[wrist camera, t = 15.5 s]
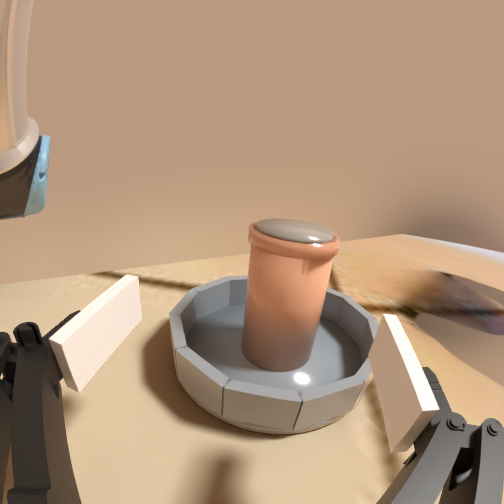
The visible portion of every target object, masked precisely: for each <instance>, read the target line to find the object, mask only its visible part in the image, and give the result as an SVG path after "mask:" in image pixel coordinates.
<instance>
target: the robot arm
mask: <svg viewBox="0 0 504 504" xmlns="http://www.w3.org/2000/svg"><path fill="white" fill-rule="evenodd" d="M33 2H34V0H0V220H2V219H9V218H17V217H25V216H26V215H31V214H36V213H39V212H41V211H42V210H43V208H44V206H45V203H46V193H47V180H48V168H49V157H50V146H51V140H50V137H49V136H44V135H41V136H39V128H38V125H37V123H36V122H35V121H34V120H33V119H32V118H30V117H28V116H27V97H26V96H27V95H26V70H27V49H28V37H29V28H30V20H31V13H32V7H33ZM141 320H142V313H141V303H140V293H139V281H138V277H137V276H132V275H125V276H124V277H123V278H121V279H120V280H119V281H118V282H116V283H115V284H114V285H113V286H111V287H110V288H109V289H108V290H106V291H105V292H104V293H103V294H101V295H100V296H99V297H98V298H96V299H95V300H94V301H93V302H91V303H90V304H89V305H88V306H87V307H85V308H84V309H83V310H82V311H80V310H79V311H76V312H74V313H72V314H70V315H69V316H67V317H66V318H65V319H64V321H61V322H60V323H59V325H57V326H55V327H54V328H53V329H52V330H51V331H49V332H48V333H47V334H46V335H45V336H44V337H42V336H41V333H40V330H39V327H38V325H37V324H36V323H33V322H25V323H22V324H20V325H18V326H17V327H16V328H15V329H14V331H13V333H14V336H15V339H16V341H17V343H14V342H12V341H11V338H10V336H9V334H8V333H6V332H0V376H1V373H2V375H3V379H2V380H1V379H0V504H2V499H3V489H4V481H5V473H6V467H7V461H8V455H9V450H10V445H11V447H12V466H13V477H14V488H13V489H10V490H9V491H8V493H7V500H8V504H82V503H81V500H80V497H79V493H78V489H77V486H76V482H75V478H74V473H73V469H72V464H71V459H70V454H69V449H68V443H67V437H66V430H65V423H64V414H63V405H62V392H61V385H60V383H59V381H60V380H61V379H62V378H64V380H65V383H66V385H67V387H69V388H71V389H73V390H75V391H77V392H80V391H81V390H82V389H83V388H84V386H85V385H86V384H87V383H88V381H89V380H90V379H91V378H92V377H93V375H94V374H95V373H96V372H97V371H98V369H99V368H100V367H101V366H102V365H103V364H104V362H105V361H106V360H107V359H108V358H109V356H110V355H111V354H112V353H113V352H114V351H115V349H116V348H117V347H118V346H119V345H120V344H121V342H122V341H123V340H124V339H125V338H126V337H127V335H128V334H129V333H130V332H131V331H132V330H133V329H134V327H135V326H136V325H137V324H138V323H139V322H140V321H141ZM368 357H369V361H370V365H371V369H372V372H373V376H374V380H375V384H376V388H377V392H378V396H379V400H380V405H381V409H382V413H383V418H384V422H385V427H386V432H387V437H388V442H389V447H390V453H394V452H405V451H407V450H408V449H409V448H410V447H411V445H412V444H414V448H415V451H414V452H413V453H412V454H411V456H410V457H409V458H408V459H407V460H406V461H405V462H404V463H403V464H405V465H404V467H403V468H402V470H401V471H400V473H399V474H398V476H397V477H396V478H395V480H394V481H393V483H392V484H391V485H390V487H389V488H388V489H387V491H386V492H385V493H384V495H383V496H382V497H381V498H380V500H379V501H378V502H377V503H376V504H434V502H435V501H436V499H437V497H438V495H439V493H440V491H441V490H442V488H443V490H442V494H441V498H440V502H439V504H501V502H502V493H503V483H504V428H503V426H502V424H501V423H500V422H499V421H498V420H496V419H493V418H488V419H486V420H485V421H484V422H483V423H482V424H481V426H476V425H469V424H467V422H466V420H465V419H464V418H463V417H462V416H461V415H460V414H457V413H454V412H452V410H451V408H450V406H449V403H448V401H447V399H446V397H445V394H444V392H443V390H442V388H441V386H440V384H439V381H438V379H437V377H436V375H435V374H434V373H433V372H432V371H431V370H430V369H429V368H428V367H421V365H420V363H419V361H418V358H417V356H416V354H415V352H414V350H413V348H412V346H411V344H410V342H409V340H408V338H407V336H406V334H405V332H404V330H403V328H402V326H401V324H400V322H399V320H398V318H397V316H396V315H389V314H383V316H382V319H381V322H380V325H379V327H378V330H377V333H376V336H375V338H374V341H373V344H372V346H371V349H370V351H369V354H368Z"/></svg>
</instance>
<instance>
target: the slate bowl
mask: <svg viewBox="0 0 504 504" xmlns="http://www.w3.org/2000/svg"><path fill="white" fill-rule="evenodd" d="M247 281H248V275H247V276H229V277H224V278H221V279H218V280H215V281H212V282H209V283H207V284H204V285H201V286H198V287H195V288H192V289H190V290H189V292H188V293H187V294H186V295H185V296H184V297H183V298H182V299H181V301H180V302H179V303H178V304H177V305H176V306H175V307H174V308H173V310H172V311H171V312H170V314H169V316H170V331H171V343H172V350H173V356H174V363H175V370H176V373H177V379H178V381H179V382H180V383H181V385H182V387H183V388H184V390H185V391H186V392H187V394H188V395H189V396H190V397H191V398H192V399H193V400H194V401H195V402H196V403H197V404H198V405H199V406H200V407H201V408H203V409H204V410H205V411H207V412H208V413H209V414H211V415H213V416H214V417H216V418H218V419H220V420H222V421H224V422H226V423H229V424H231V425H234V426H236V427H239V428H242V429H246V430H250V431H254V432H261V433H269V434H294V433H302V432H307V431H311V430H315V429H319V428H322V427H324V426H327V425H329V424H331V423H334V422H335V421H337V420H339V419H340V418H342V417H344V416H345V415H346V414H347V413H348V412H350V411H351V410H352V409H353V408H354V407H355V406H356V405H357V403H358V402H359V401H360V399H361V398H362V396H363V394H364V392H365V390H366V389H367V387H368V385H369V384H370V382H371V381H372V379H373V378H374V376H373V372H372V369H371V365H370V361H369V357H368V354H369V351H370V349H371V346H372V344H373V341H374V338H375V336H376V333H377V330H378V327H379V326H378V323H377V320H376V318H375V317H373V316H372V315H371V314H370V313H369V312H367V311H366V310H365V309H364V308H362V307H361V306H360V305H359V304H358V303H356V302H355V301H354V300H353V299H351V298H350V297H349V296H347V295H345V294H342V293H340V292H337V291H335V290H332V289H330V288H327V291H326V295H325V300H324V304H323V308H322V312H321V317H320V321H319V325H318V329H317V333H316V337H315V341H314V344H313V348H312V352H311V356H310V359H309V360H308V362H307V363H306V364H305V365H304V366H302V367H300V368H298V369H296V370H292V371H287V372H276V371H269V370H265V369H262V368H260V367H257V366H256V365H254V364H252V363H251V362H250V361H248V360H247V359H246V357H245V356H244V355H243V353H242V349H241V343H242V333H243V322H244V312H245V302H246V292H247Z"/></svg>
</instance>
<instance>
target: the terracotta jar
mask: <svg viewBox="0 0 504 504" xmlns="http://www.w3.org/2000/svg"><path fill="white" fill-rule="evenodd" d="M248 241H249V242H250V244H251V251H250V261H249V271H248V281H247V292H246V302H245V312H244V322H243V333H242V343H241V349H242V353H243V355H244V356H245V357H246V359H247V360H248V361H250V362H251V363H252V364H254V365H256V366H257V367H260V368H262V369H265V370H269V371H276V372H287V371H292V370H296V369H298V368H300V367H302V366H304V365H305V364H306V363H307V362H308V360H309V359H310V356H311V352H312V348H313V344H314V341H315V337H316V333H317V329H318V325H319V321H320V317H321V312H322V308H323V304H324V300H325V295H326V291H327V286H328V281H329V277H330V272H331V267H332V262H333V257H334V256H335V255H337V253H338V250H339V244H340V238H339V236H338V235H336V234H335V233H333V232H332V231H330V230H329V229H327V228H325V227H322V226H319V225H316V224H313V223H308V222H304V221H298V220H290V219H265V220H261V221H259V222H255V223H253V224H251V225H250V226H249V235H248Z"/></svg>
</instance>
